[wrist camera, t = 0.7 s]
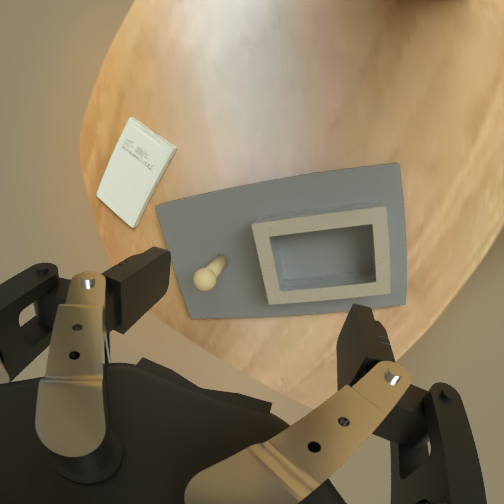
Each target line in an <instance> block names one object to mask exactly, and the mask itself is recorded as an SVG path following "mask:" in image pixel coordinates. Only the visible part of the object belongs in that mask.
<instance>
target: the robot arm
mask: <svg viewBox="0 0 504 504" xmlns="http://www.w3.org/2000/svg"><path fill="white" fill-rule="evenodd" d="M170 263H171V253H170V251H168V250H165V249H161V248H158V247H155V246H154V247H152V248H150V249H149V250H147V251H145V252H143V253H141V254H137V255H133V256H130V257H128V258H127V259H125V260H124V261H122V262H120V263H118V265H115V266H113V267H112V268H110V269H108V270H107V271H105V272H104V273H102V274H100V273H97V272H82V273H78V274H76V275H75V276H74V277H73V278H72V279H71V280H69V279H64V278H59V275H58V268H57V267H56V265H54V264H51V263H39V264H35V265H33V266H31V267H29V268H28V269H26V270H24V271H22V272H21V273H19V274H17V275H15V276H14V277H12V278H10V279H9V280H7V281H5V282H4V283H2V284H1V285H0V504H346V503H345V501H344V500H343V498H342V497H341V495H340V494H339V493H338V491H337V490H336V489H335V487H334V486H333V484H332V483H331V482H330V480H329V479H328V478H329V477H330V476H331V475H332V474H333V473H334V472H335V471H336V470H338V469H339V467H341V466H342V465H343V464H344V463H345V462H346V461H347V460H348V459H349V458H350V457H351V456H352V455H353V454H354V452H355V451H356V450H357V449H358V448H359V447H360V446H361V445H362V444H363V443H364V442H365V441H366V440H367V439H368V438H369V436H370V435H371V434H374V435H377V436H379V437H382V438H384V439H387V440H389V441H390V446H391V504H487V501H486V495H485V488H484V482H483V477H482V472H481V467H480V463H479V459H478V454H477V450H476V446H475V442H474V438H473V435H472V431H471V428H470V424H469V421H468V418H467V415H466V412H465V409H464V406H463V402H462V400H461V397H460V395H459V394H458V392H457V391H456V390H455V389H454V388H453V387H451V386H450V385H448V384H446V383H441V382H439V383H435V384H433V385H432V387H431V388H430V390H429V391H426V390H423V389H421V388H419V387H416V386H414V385H412V384H411V377H410V375H409V373H408V372H407V370H406V369H405V368H403V367H402V366H401V365H399V364H397V363H395V359H394V356H393V352H392V349H391V345H390V342H389V339H388V336H387V332H386V329H385V328H384V327H383V326H382V324H381V323H380V322H379V321H375V320H374V316H373V313H372V309H371V307H367V306H363V305H359V304H355V303H354V304H353V305H352V307H351V309H350V311H349V313H348V316H347V318H346V321H345V323H344V325H343V328H342V330H341V332H340V335H339V337H338V341H337V382H338V392H336V393H335V394H334V395H333V396H331V397H330V398H329V399H327V400H326V401H325V402H324V403H322V404H321V405H320V406H318V407H317V408H315V409H314V410H313V411H311V412H310V413H309V414H307V415H306V416H304V417H303V418H302V419H300V420H299V421H297V422H296V423H294V424H293V425H291V426H290V425H289V424H287V423H286V422H285V421H283V420H282V419H280V418H279V417H277V416H276V415H274V414H272V413H270V410H271V406H272V403H271V402H266V401H263V400H259V399H255V398H252V397H249V396H246V395H242V394H239V393H231V392H223V391H216V390H209V389H203V388H200V387H198V386H196V385H195V384H193V383H192V382H190V381H188V380H187V379H185V378H184V377H182V376H181V375H179V374H178V373H176V372H174V371H173V370H171V369H169V368H166V367H164V366H162V365H159V364H157V363H154V362H152V361H150V360H148V359H145V358H142V359H141V360H140V361H139V362H138V364H137V365H134V364H128V363H112V361H111V342H110V331H111V330H115V331H117V332H119V333H122V334H124V333H125V332H126V331H127V330H128V329H129V328H130V327H131V326H132V325H133V324H135V323H136V322H137V321H138V320H139V319H140V318H141V317H142V316H143V315H144V314H145V313H146V312H147V311H148V310H149V309H150V308H151V307H152V306H153V305H155V304H156V303H157V302H158V301H159V300H160V299H161V298H162V297H163V296H164V295H165V293H166V291H167V289H168V285H169V275H170ZM32 303H33V304H34V309H35V313H36V316H35V317H33V318H32V319H31V320H29V321H28V322H27V323H25V324H24V325H23V326H22V327H20V325H19V315H20V313H21V311H22V310H23V309H25V308H26V307H27V306H29V305H30V304H32ZM49 345H50V346H49ZM48 346H49V353H48V358H47V365H46V371H45V376H44V377H39V378H34V379H28V380H22V381H16V382H11V381H12V380H13V379H14V378H15V377H16V376H17V375H18V374H19V373H20V372H21V371H22V370H23V369H24V368H25V367H26V366H28V365H29V364H30V363H31V362H32V361H33V360H34V359H35V358H36V357H37V356H38V355H39V354H40V353H41V352H43V351H44V350H45V349H46V348H47V347H48ZM429 441H430V444H431V453H430V456H429V452H428V446H427V443H428V442H429Z"/></svg>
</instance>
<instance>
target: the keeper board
mask: <svg viewBox="0 0 504 504" xmlns="http://www.w3.org/2000/svg"><path fill="white" fill-rule="evenodd" d="M379 200H381V201H382V202H383V203H384V204H385V206H386V209H387V220H388V234H389V251H390V294H382V295H373V296H364V297H355V298H345V299H335V300H324V301H312V302H300V303H286V304H271V305H269V303H268V298H267V293H266V289H265V284H264V280H263V275H262V271H261V266H260V262H259V257H258V253H257V248H256V244H255V239H254V235H253V230H252V226H251V224H252V223H253V222H254V221H255V220H256V219H257V218H258V217H260V216H266V215H273V214H280V213H286V212H293V211H300V210H308V209H315V208H322V207H330V206H338V205H345V204H354V203H362V202H370V201H379ZM155 207H156V211H157V214H158V218H159V221H160V225H161V228H162V232H163V235H164V239H165V242H166V245H167V249H168V251H170V253H171V262H172V265H173V268H174V271H175V274H176V277H177V280H178V283H179V286H180V289H181V292H182V295H183V298H184V301H185V304H186V306H187V309H188V312H189V315H190V318H191V319H219V318H254V317H276V316H293V315H308V314H321V313H333V312H344V311H350V309H351V307H352V305H353V304H354V303H355V304H359V305H363V306H367V307H371V309H373V308H382V307H390V306H398V305H405V304H406V286H407V251H406V226H405V211H404V199H403V189H402V181H401V173H400V165H399V164H398V163H391V164H381V165H372V166H363V167H355V168H347V169H340V170H332V171H325V172H318V173H312V174H305V175H299V176H293V177H287V178H281V179H275V180H270V181H264V182H259V183H253V184H248V185H243V186H238V187H233V188H228V189H223V190H218V191H214V192H209V193H205V194H200V195H196V196H191V197H187V198H183V199H178V200H174V201H170V202H166V203H162V204H159V205H157V206H155ZM276 237H277V242H278V247H279V252H280V257H281V262H282V267H283V273H284V278H285V279H288V278H299V277H309V276H319V275H329V274H339V273H348V272H357V271H366V270H373V266H372V250H371V238H370V227H369V224H368V225H360V226H351V227H343V228H335V229H327V230H319V231H311V232H303V233H295V234H287V235H279V236H276Z"/></svg>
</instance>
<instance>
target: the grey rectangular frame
mask: <svg viewBox="0 0 504 504" xmlns="http://www.w3.org/2000/svg"><path fill="white" fill-rule="evenodd" d="M368 224H369V227H370V238H371V250H372V266H373V270H366V271H357V272H348V273H339V274H329V275H319V276H309V277H299V278H288V279H285V278H284V273H283V267H282V262H281V257H280V252H279V247H278V242H277V237H276V236H279V235H287V234H295V233H303V232H311V231H319V230H327V229H335V228H343V227H351V226H360V225H368ZM251 226H252V230H253V235H254V239H255V244H256V248H257V253H258V257H259V262H260V266H261V271H262V275H263V280H264V284H265V289H266V293H267V298H268V303H269V305H271V304H286V303H300V302H312V301H324V300H335V299H345V298H355V297H364V296H373V295H382V294H390V251H389V234H388V220H387V209H386V206H385V204H384V203H383V202H382V201H381V200H379V201H370V202H362V203H354V204H345V205H338V206H330V207H322V208H315V209H308V210H300V211H293V212H286V213H280V214H273V215H266V216H260V217H258V218H257V219H256V220H255V221H254V222H253V223H252V224H251Z"/></svg>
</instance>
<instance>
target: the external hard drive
mask: <svg viewBox="0 0 504 504" xmlns="http://www.w3.org/2000/svg"><path fill="white" fill-rule="evenodd" d="M176 150H177V147H175V146H174V145H172V144H171V143H169V142H168V141H167V140H165V139H164V138H162V137H161V136H160V135H157V134H155V133H154V132H153V131H151V130H150V128H148V127H147V126H145V125H144V124H142V123H141V122H140V121H138V120H137V119H135V118H134V117H130V118H129V119H128V121H127V123H126V126H125V128H124V130H123V132H122V134H121V136H120V138H119V140H118V142H117V144H116V147H115V149H114V151H113V154H112V156H111V158H110V161H109V163H108V165H107V168H106V170H105V173H104V175H103V178H102V180H101V183H100V186H99V188H98V191H97V194H96V195H97V197H98V198H99V199H100V200H101V201H103V202H104V203H105V204H106V205H107V206H108V207H109V208H110V209H111V210H112V211H113V212H115V213H116V214H117V215H118V216H119V217H120V218H121V219H122V220H123V221H124V222H126V223H127V224H128V225H129V226H130V227H132V228H134V227H137V225H138V223H139V221H140V219H141V217H142V215H143V213H144V210H145V208H146V206H147V204H148V202H149V200H150V198H151V196H152V194H153V192H154V190H155V188H156V186H157V185H158V183H159V181H160V179H161V177H162V175H163V173H164V171H165V170H166V168H167V166H168V164H169V162H170V160H171V159H172V157H173V155H174V153H175V152H176Z"/></svg>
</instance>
